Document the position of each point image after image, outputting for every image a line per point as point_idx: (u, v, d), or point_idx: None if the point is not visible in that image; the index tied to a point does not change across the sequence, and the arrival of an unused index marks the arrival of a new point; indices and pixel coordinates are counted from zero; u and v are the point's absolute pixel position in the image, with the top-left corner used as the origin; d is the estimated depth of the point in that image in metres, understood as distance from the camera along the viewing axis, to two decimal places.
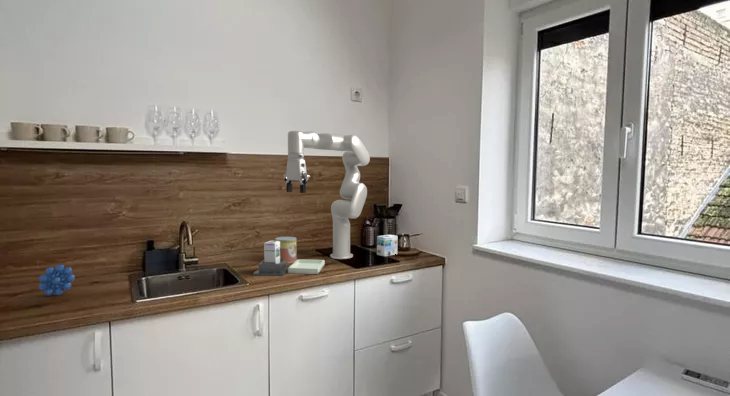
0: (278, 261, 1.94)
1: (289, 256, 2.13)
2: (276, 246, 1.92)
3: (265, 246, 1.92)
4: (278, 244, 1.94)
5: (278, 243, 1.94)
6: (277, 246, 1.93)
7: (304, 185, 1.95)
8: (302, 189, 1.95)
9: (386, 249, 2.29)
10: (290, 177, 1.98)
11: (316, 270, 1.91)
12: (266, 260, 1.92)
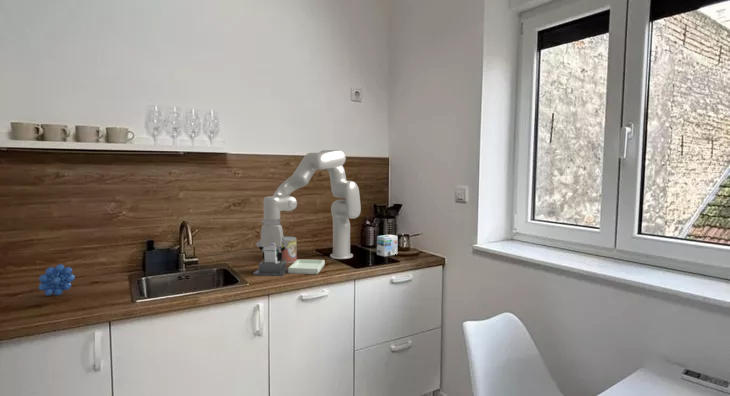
0: (278, 261, 1.94)
1: (289, 256, 2.13)
2: None
3: None
4: None
5: None
6: None
7: None
8: None
9: (386, 249, 2.29)
10: None
11: (316, 270, 1.91)
12: (266, 260, 1.92)
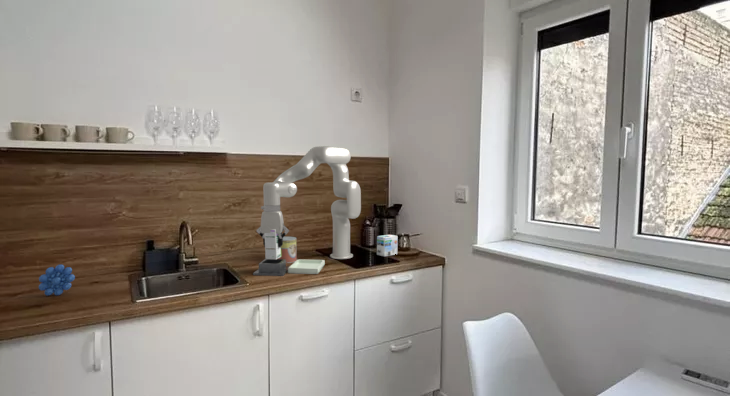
0: (279, 247, 1.94)
1: (289, 256, 2.13)
2: None
3: None
4: None
5: None
6: None
7: None
8: None
9: (386, 249, 2.29)
10: None
11: (316, 270, 1.91)
12: (267, 246, 1.92)
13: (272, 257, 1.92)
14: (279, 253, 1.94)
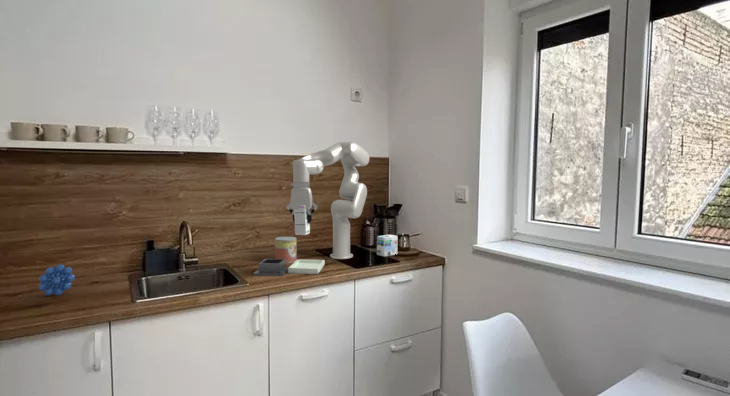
0: (308, 223, 1.98)
1: (289, 256, 2.13)
2: None
3: None
4: None
5: None
6: None
7: None
8: None
9: (386, 249, 2.29)
10: None
11: (316, 270, 1.91)
12: (296, 222, 1.96)
13: (301, 233, 1.96)
14: (308, 229, 1.98)
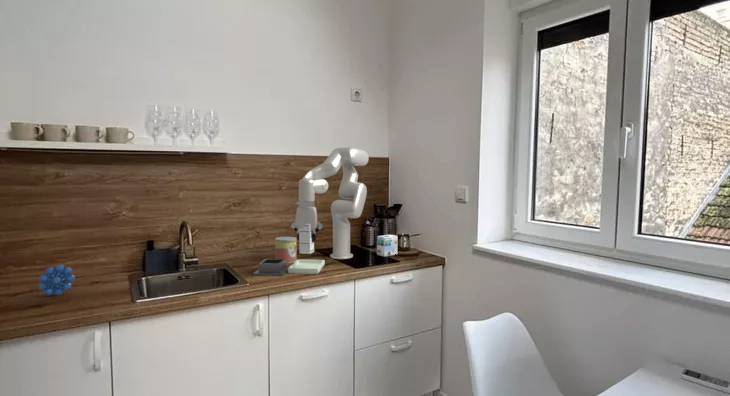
0: (312, 242, 1.99)
1: (289, 256, 2.13)
2: None
3: None
4: None
5: None
6: None
7: None
8: None
9: (386, 249, 2.29)
10: None
11: (316, 270, 1.91)
12: (301, 241, 1.97)
13: (306, 251, 1.97)
14: (312, 248, 2.00)
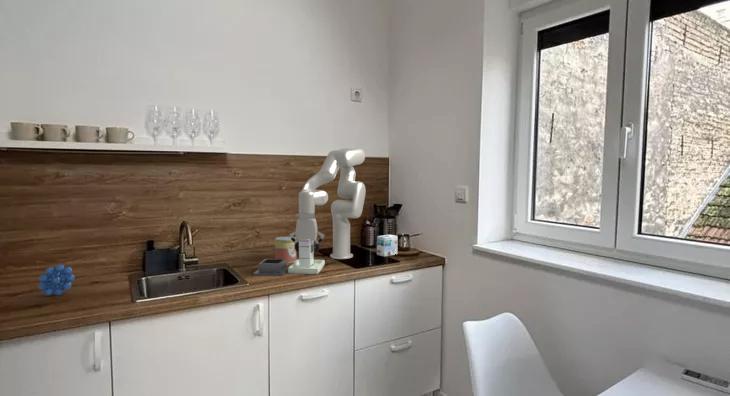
0: (312, 257, 2.00)
1: (289, 256, 2.13)
2: (310, 242, 1.98)
3: (300, 242, 1.97)
4: (312, 240, 2.00)
5: None
6: (311, 242, 1.99)
7: None
8: None
9: (386, 249, 2.29)
10: None
11: (316, 270, 1.91)
12: (301, 256, 1.98)
13: (306, 266, 1.98)
14: (312, 263, 2.00)
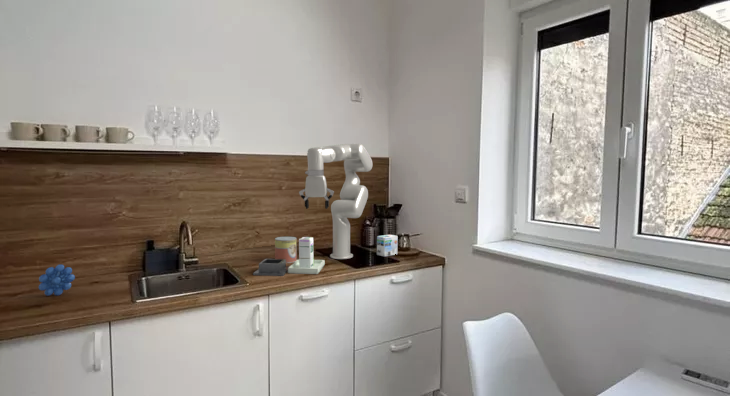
0: (312, 257, 2.00)
1: (289, 256, 2.13)
2: (310, 242, 1.98)
3: (300, 242, 1.97)
4: (312, 240, 2.00)
5: (312, 239, 2.00)
6: (311, 242, 1.99)
7: None
8: None
9: (386, 249, 2.29)
10: None
11: (316, 270, 1.91)
12: (301, 256, 1.98)
13: (306, 266, 1.98)
14: (312, 263, 2.00)
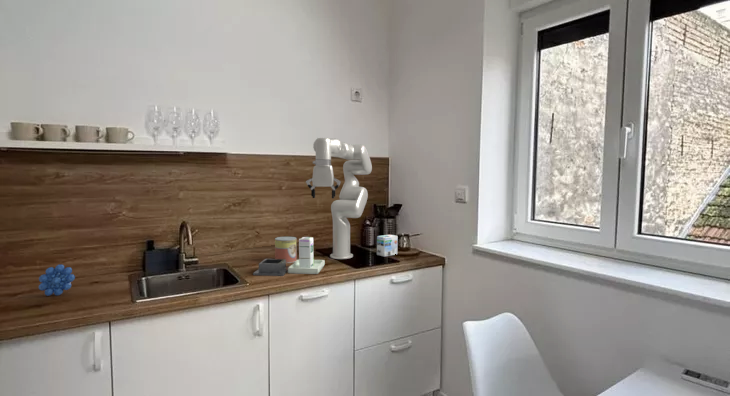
0: (312, 257, 2.00)
1: (289, 256, 2.13)
2: (310, 242, 1.98)
3: (300, 242, 1.97)
4: (312, 240, 2.00)
5: (312, 239, 2.00)
6: (311, 242, 1.99)
7: None
8: None
9: (386, 249, 2.29)
10: None
11: (316, 270, 1.91)
12: (301, 256, 1.98)
13: (306, 266, 1.98)
14: (312, 263, 2.00)
